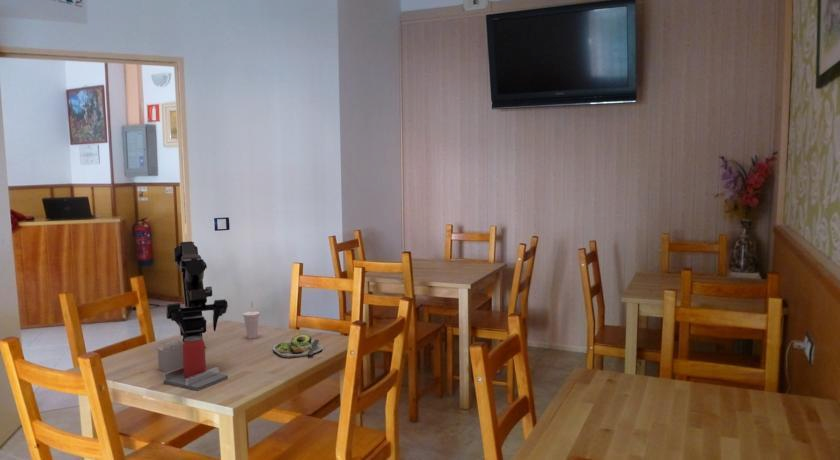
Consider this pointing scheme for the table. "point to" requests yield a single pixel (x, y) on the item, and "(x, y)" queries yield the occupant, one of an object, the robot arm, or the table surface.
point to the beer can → (193, 356)
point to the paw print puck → (170, 356)
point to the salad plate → (298, 347)
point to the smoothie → (251, 323)
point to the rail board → (193, 378)
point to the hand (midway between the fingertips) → (200, 332)
